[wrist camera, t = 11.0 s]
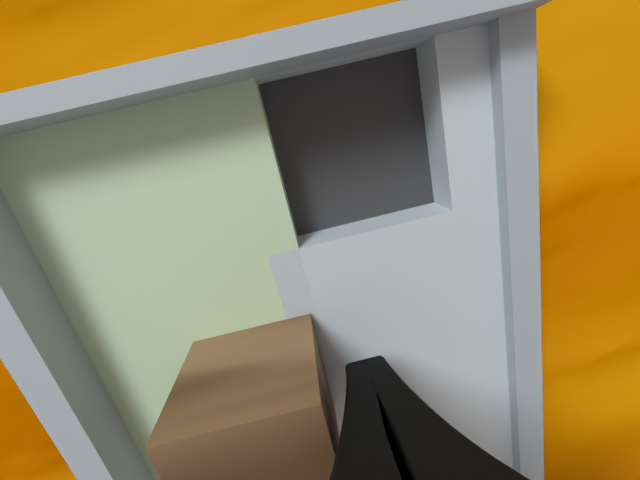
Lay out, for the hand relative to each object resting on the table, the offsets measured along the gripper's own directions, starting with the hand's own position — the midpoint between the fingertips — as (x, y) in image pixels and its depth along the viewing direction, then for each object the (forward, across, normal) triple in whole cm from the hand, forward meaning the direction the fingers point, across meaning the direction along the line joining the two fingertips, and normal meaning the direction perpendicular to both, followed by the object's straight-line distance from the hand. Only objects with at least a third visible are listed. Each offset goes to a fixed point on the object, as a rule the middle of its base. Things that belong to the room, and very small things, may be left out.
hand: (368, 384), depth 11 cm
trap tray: (+3, +2, +2) cm, 4 cm away
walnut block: (+1, +3, 0) cm, 4 cm away
